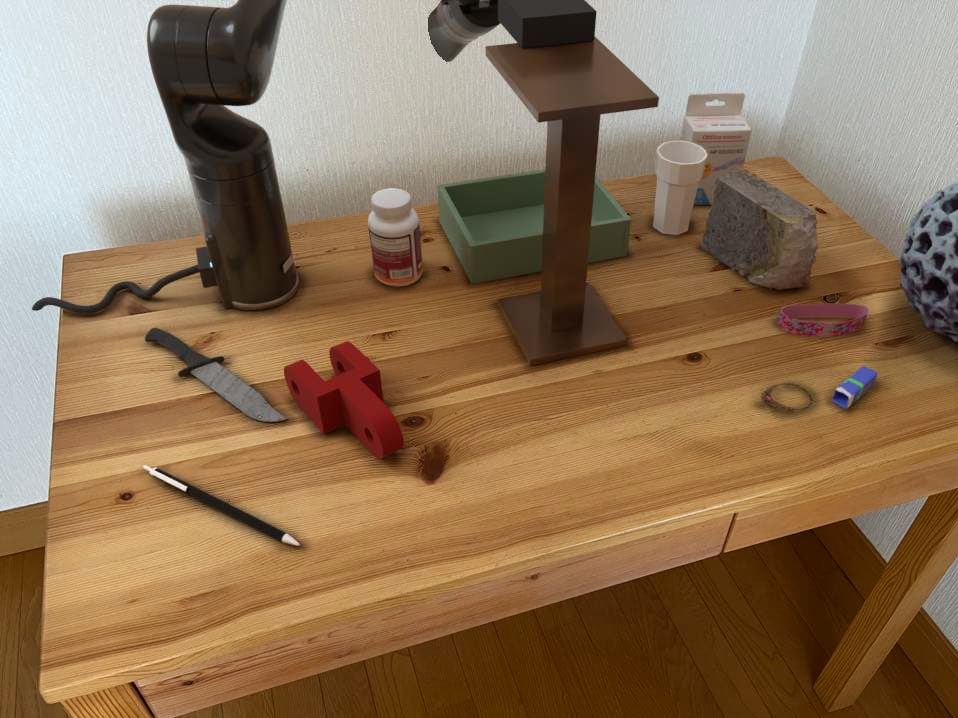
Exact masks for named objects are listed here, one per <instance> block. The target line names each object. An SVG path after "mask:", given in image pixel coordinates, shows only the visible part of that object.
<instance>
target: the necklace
mask: <svg viewBox="0 0 958 718" xmlns="http://www.w3.org/2000/svg"><path fill="white" fill-rule="evenodd" d="M784 385H785V386H786V385H787V386H794V387H799V388H800V389H802V390H803V391H805V392H806V393H807V395H808V396H809V397H810V398H809V399H810V402H809V404H808V405H807V406H805V407H803V408H800V411H802V410H805V409H808V408H809V407H811V405H812V404H813V398H812V397H813V396H812V395H811V394H810V393H809V392H808V391H807V389H805V388H804V387H802V386H800V385H798V384H794V383H781V386H784ZM779 386H780V383H779V384H775V385H774V384H773V385H772V386H770V387H768V388H767V389H766V390H764V391H763V392H761V396H760V398H761V401H762V403H763V404H764V405H766V406H767V407H770V408H772V409H778V410H784V411H787V412H791V413H792V412H794V411H799V408H792V407H790V406H787V405H783V404H782V403H781V404H780V402H778V401H775V400H774V399H773V397H772V392H773V391H774V390H775V389H776V388H777V387H779Z"/></svg>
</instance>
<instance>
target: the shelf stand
mask: <svg viewBox="0 0 958 718" xmlns="http://www.w3.org/2000/svg"><path fill="white" fill-rule="evenodd" d="M485 57H486V58H487V59H488V61H489V62H490V63H491V65H492V66H493V67H494V68H495V70H496V71H497V72H498V73H499V75H500V76H501V77H502V79H503V80H504V81H505V82H506V84H507V85H508V86H509V88H510V89H511V90H512V91H513V93H514V94H515V95H516V97H518V99H519V100H520V101H521V103H522V104H523V105H524V107H525V108H526V109H527V110H528V112H529V113H530V114H531V116H532V117H533V118H534V119H535V121H536V122H537V123H539V124H541V123H546V126H547V128H546V145H545V146H546V147H545V152H546V153H545V194H544V218H543V242H542V267H541V272H540V290H538V291H533V292H532V291H531V292H528V293H521V294H516V295H511V296H505V297H501V298H497V307H498V308H499V311H500V312H501V314H502V315H503V318H504V319H505V320H504V321H506V324H507V325H508V327H509V329H510V331H511V333H512V335H513V336H514V339H515V341H516V342H517V344H518V346H519V348H520V349H521V351H522V353H523V356H524V358H525V359H526V361H527V363H528V364H529V366H530V367H531V366H536V365H541V364H545V363H550V362H555V361H560V360H565V359H569V358H573V357H578V356H583V355H588V354H592V353H597V352H602V351H606V350H611V349H616V348H617V349H618V348H621V347H626V346H627V344H628V338H627V337H626V335H625V334H624V332H623V330H622V329H621V328H620V326H619V325H618V323H617V322H616V320H615V319H614V318H613V316H612V315H611V313H610V311H609V310H608V309H607V307H606V306H605V304H604V303H603V301H602V300H601V298H600V297H599V296H598V294H597V292H596V291H595V290H594V288H593V286H592V285H591V284H590V281H587V277H588V268H589V267H588V265H589V263H588V256H589V244H590V232H591V220H592V209H593V197H594V185H595V175H596V174H597V173H596V171H597V161H598V150H599V149H598V148H599V139H600V137H599V136H600V125H601V115H609V114H615V113H622V112H631V111H638V110H646V109H647V110H648V109H653V108H654V109H655V108H659V100H660V96H658V94H657V93H656V92H655V91H653V90H652V88H651V87H649V86H648V85H647V84H646V83H645V82H644V81H643V80H641V78H640V77H639V76H638V75H636V74H635V72H633V71H632V70H631V69H630V68H629V67H628V66H627V65H626V64H625V63H624V62H623V61H622V60H621V59H620V58H619V57H618V56H617V55H615V54H614V53H613V52H612V51H611V50H610V49H609V48H608V47H607V46H606V45H605V44H604V43H603V42H601V40H599V38H597V36H595V38H594V41H587V42H577V43H568V44H559V45H550V46H540V47H531V48H521V47H520V45H519V44H518V43H517V42H513V43H503V44H495V45H494V44H493V45H485Z"/></svg>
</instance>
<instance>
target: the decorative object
mask: <svg viewBox="0 0 958 718" xmlns="http://www.w3.org/2000/svg"><path fill="white" fill-rule="evenodd" d="M898 267H899V269H900V278H899V281H900V282H899V287H901V288H902V290H903V292H904V294H905V297H906V299H907V303H908V305H909V306H910V308H911V309H912V310H913V312H914V313H915V314H916V315H918V316H919V317H920V318H921V320H922V322H923V323H924V325H925V326H926V328H929V329H930V330H932V331H933V332H935V333H937V334H939V335H943V336H944V337H948V338H951V339H952V340H953V341H954V342H955V343H956V342H958V180H957V181H954V182H953V183H951V184H950V185H948V186H947V187H946V188H943V189H941V190H940V189H938V190H937V191H935V193H934V195H932V197H931V198H930V199H928V200H926V201H925V202H924V203H923V205H922V206H921V208H920V209H919V211H918V212H917V213H915V214H914V217H912V219H911V221H910V224H909V227H908V228H907V229H906V231H905V232H904V241H903V244H902V249H901V254H900V257H899V261H898Z"/></svg>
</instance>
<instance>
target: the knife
mask: <svg viewBox="0 0 958 718" xmlns="http://www.w3.org/2000/svg"><path fill="white" fill-rule="evenodd" d="M144 341H145V343H156V344H160V345H161V346H162V347H164V348H166V349H167V350H169V351H171V352H172V353H174V355H176V356H177V359H179V360H180V361H183V362H184V363H186V364H187V367H184V368H182V369H180V370H179V371H178V373H177V375H178V377H179V378H184V377H187V376H190V375H193V376H194V377H195V378H197V379H198V380H199V381H201V382H202V383H203V384H205V385H206V386H207V387H209V388H210V389H212V390H213V391H214V392H216V393H217V394H218V395H220V396H221V397H222V398H223V399H225V400H226V401H227V402H229V403H230V404H232V406H234V407H235V408H237V409H238V410H239V411H241V412H242V413H243V414H245V415H246V416H248V417H250V418H251V419H254V420H255V421H256V420H257V421H260V422H266V423H272V422H273V423H275V422H282V421H286V420H288V418H287V417H286V416H285V415H283V414H282V413H280V412H279V411H278V410H277V409H275V408H274V407H273V406H271V404H270V403H269V402H268V401H267V400H266V399H265V397H264V396H263V395H262V394H261V393H260V392H259V391H257V390H256V389H255V388H253V387H252V386H250V385H249V384H247V383H246V382H245V381H244V380H243V379H241V378H239V377H238V376H237V375H236V374H234V373H233V372H231V371H229V369H227V368H226V367H224V366H223V365H221V364H222V363H224V362H225V357H224V356H222V355H221V356H220V355H219V356H215V357H208V356H205V355H203V354H202V353H200V352H198V351H196V350H194V349H192V348H191V347H190V346H189V345H188V344H187V343H185V342H184V341H182V340H181V339H179V338H178V337H177V336H175V335H174V334H172V333H170V332H168V331H166V330H163V329H160V328H158V327H152V328H151V329H150V330H148V332H147V333H146V335H145V337H144Z"/></svg>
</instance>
